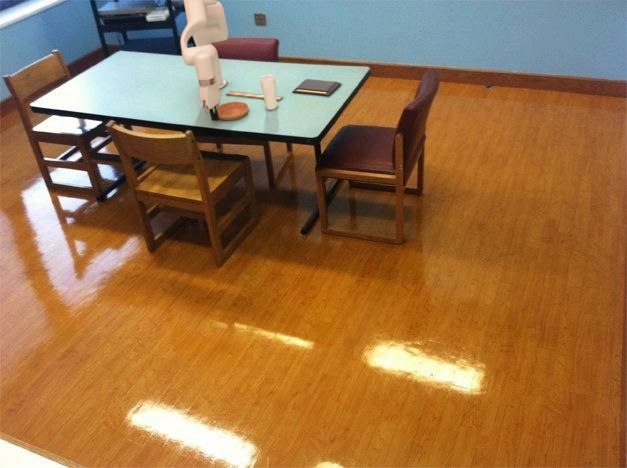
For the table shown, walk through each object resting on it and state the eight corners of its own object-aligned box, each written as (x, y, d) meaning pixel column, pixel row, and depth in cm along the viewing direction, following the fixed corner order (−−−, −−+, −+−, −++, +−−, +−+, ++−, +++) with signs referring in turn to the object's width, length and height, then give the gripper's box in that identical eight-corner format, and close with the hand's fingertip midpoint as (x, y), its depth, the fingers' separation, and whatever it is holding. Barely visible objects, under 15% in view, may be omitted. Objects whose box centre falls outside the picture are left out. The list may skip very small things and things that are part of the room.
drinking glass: (276, 110, 277) (272, 80, 268) (262, 111, 279) (258, 80, 270) (280, 104, 283) (276, 74, 274) (266, 104, 284) (261, 74, 275)
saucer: (228, 105, 288) (227, 99, 286) (256, 109, 281) (255, 103, 279) (208, 119, 277) (207, 113, 275) (236, 124, 270) (235, 118, 268)
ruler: (226, 94, 298) (226, 93, 297) (229, 92, 300) (229, 90, 300) (279, 100, 286) (279, 99, 286) (282, 98, 288) (282, 96, 288)
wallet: (341, 80, 293) (328, 93, 283) (342, 84, 295) (328, 97, 284) (305, 76, 302) (291, 88, 291) (306, 80, 303) (291, 92, 292)
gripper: (209, 73, 263) (217, 112, 274) (190, 87, 252) (199, 126, 263) (223, 75, 260) (231, 113, 271) (204, 88, 249) (213, 128, 260)
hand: (215, 120), depth 267 cm, fingers closed
